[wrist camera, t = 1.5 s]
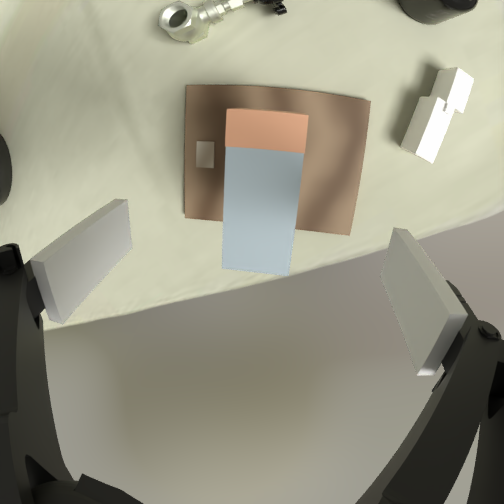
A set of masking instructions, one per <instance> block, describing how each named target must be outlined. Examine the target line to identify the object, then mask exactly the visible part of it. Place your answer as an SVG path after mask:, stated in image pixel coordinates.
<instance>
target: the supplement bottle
mask: <svg viewBox="0 0 504 504" xmlns="http://www.w3.org/2000/svg"><path fill="white" fill-rule="evenodd" d="M398 1H399V4H400V5H401V7H402V8H403V10H404V11H405V12H406V13H407V14H408V15H409V16H410V17H412V18H413V19H415V20H417V21H418V22H421V23H424V24H429V25H434V24H438V23H441V22H444V21H446V20H449V19H451V18H454V17H456V16H459V15H462V14H464V13H467V12H469V11H471V10H473V9H474V8H475V7H476V5H477V3H478V0H398Z"/></svg>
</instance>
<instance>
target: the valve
mask: <svg viewBox="0 0 504 504" xmlns="http://www.w3.org/2000/svg"><path fill="white" fill-rule="evenodd" d="M249 1H251V0H226V1H223V2H221V1H220V0H218V1H215V2H214V1H213V0H206V1H204V2H203V5H202V6H200V7H198V8H195V7H191V6H189V5H187V4H185V3H183V2H181V1H176V2H174V3H172V4H170V5H168V6H166V7H164V8H163V9H161V13H160V17H159V25H158V26H159V27H161V28H163V29H165V30H167V32H168V34H169V35H170V36H171V37H172V38H174V39H176V40H178V41H187V42H189V43H191V44H194V43H196V42H198V41H201V40H203V39H205V38H207V36H208V30H209V24H210V23H211V22H213V23H214V24H216V23H218V22H221V21H223V17H222V16H223V15H225V14H227V10H230V9H232V10H233V11H235V10H238V9H241V8H243V7H245V6H244V4H243V3H246V2H249ZM282 1H283V0H253V2H254V3H255V4H256V3H258V2H259V3H261V4H265V5H266V4H272V3H273V5H274V6H275V7H276V8H273V11H274V13H275V14H277V15H278V16H279V15H282V14H285V13H287V10H286V8H285V6H284V5H283V4H282Z"/></svg>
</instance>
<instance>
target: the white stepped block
mask: <svg viewBox="0 0 504 504" xmlns="http://www.w3.org/2000/svg"><path fill="white" fill-rule="evenodd" d="M473 82H474V79H473V78H472V77H471V76H469V75H468V74H467V73H465V72H464V71H462V70H461V69H460V68H458V67H457V68H450V69H442V70H439V71H438V74H437V77H436V80H435V83H434V85H433V88H432V91H431V94H430V97H420V98H419V101H418V103H417V106H416V108H415V111H414V114H413V116H412V119H411V121H410V124H409V126H408V129H407V131H406V134H405V136H404V138H403V141H402V143H401V146H400V147H401V148H403V149H405V150H407V151H409V152H411V153H412V154H414V155H416V156H418V157H420V158H422V159H424V160H426V161H428V162H430V163H432V164H433V162H434V160H435V157H436V155H437V153H438V150H439V148H440V145H441V143H442V141H443V138H444V136H445V133H446V131H447V128H448V125H449V123H450V120H451V118H452V115H453V112H455V113H462V114H463V111H464V109H465V106H466V103H467V100H468V97H469V94H470V91H471V88H472V85H473Z"/></svg>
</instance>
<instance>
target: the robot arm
mask: <svg viewBox="0 0 504 504" xmlns="http://www.w3.org/2000/svg"><path fill="white" fill-rule="evenodd" d="M11 181H12V168H11V160H10V155H9V152H8V148H7V146H6V143H5V141H4V139H3V137H2V136H1V134H0V205H2V204H3V203H4V202H5V201H6V199H7V197H8V195H9V192H10V188H11ZM131 249H132V240H131V230H130V221H129V210H128V200H127V199H114V200H113V201H111V202H110V203H108V204H106V205H105V206H103V207H102V208H100V209H99V210H97V211H96V212H94V213H93V214H91V215H90V216H88V217H87V218H85V219H84V220H83V221H81V222H80V223H78V224H77V225H75V226H74V227H72V228H71V229H70V230H68V231H67V232H65V233H64V234H63V235H61V236H60V237H59V238H57V239H56V240H55V241H53V242H52V243H50V244H49V245H48V246H46V247H45V248H44V249H43V250H41V251H40V252H39V253H37V254H36V255H35V256H34V257H32V258H31V259H30V260H29V261H28V262H27V263H25V264H23V260H22V256H21V253H20V249H19V245H17V244H14V243H11V244H6V245H3V246H1V247H0V504H143V503H141V502H140V501H138V500H136V499H135V498H133V497H132V496H130V495H128V494H127V493H125V492H124V491H122V490H120V489H118V488H115V487H112V486H110V485H107V484H105V483H102V482H100V481H98V480H95V479H93V478H91V477H89V476H86V475H84V474H82V475H81V477H80V479H79V481H74V480H73V478H72V476H71V475H70V473H69V471H68V469H67V468H66V466H65V464H64V461H63V458H62V455H61V451H60V447H59V443H58V439H57V434H56V429H55V424H54V419H53V414H52V408H51V402H50V395H49V389H48V381H47V373H46V363H45V352H44V336H43V320H42V317H41V314H40V313H41V312H42V311H43V310H44V309H46V312H47V315H48V317H49V320H51V321H54V322H57V323H60V324H64V323H65V321H66V320H67V319H68V318H69V317H70V316H71V314H72V313H73V312H74V311H75V310H76V309H77V307H78V306H79V305H80V304H81V303H82V302H83V301H84V299H85V298H86V297H87V296H88V295H89V294H90V293H91V292H92V291H93V289H94V288H95V287H96V286H97V285H98V284H99V283H100V282H101V281H102V280H103V278H104V277H105V276H106V275H107V274H108V273H109V272H110V271H111V270H112V269H113V268H114V267H115V266H116V265H117V264H118V263H119V261H120V260H121V259H122V258H123V257H124V256H125V255H126V254H127V253H128V252H129V251H130V250H131ZM380 278H381V280H382V282H383V285H384V288H385V290H386V292H387V295H388V297H389V300H390V302H391V305H392V307H393V309H394V312H395V315H396V318H397V320H398V323H399V325H400V328H401V331H402V333H403V336H404V339H405V342H406V344H407V347H408V350H409V353H410V356H411V359H412V362H413V365H414V368H415V371H416V374H417V375H434V374H435V373H436V371H437V370H438V368H439V366H440V365H441V363H442V365H443V367H444V370H445V372H444V373H443V375H442V376H441V378H440V379H439V381H438V382H437V384H436V385H435V387H434V388H433V390H432V392H433V393H432V395H431V397H430V398H429V400H428V402H427V404H426V406H425V408H424V409H423V411H422V412H421V414H420V416H419V417H418V419H417V421H416V422H415V424H414V426H413V427H412V429H411V430H410V432H409V433H408V435H407V437H406V438H405V440H404V441H403V443H402V444H401V446H400V447H399V449H398V450H397V451H396V453H395V454H394V456H393V457H392V459H391V460H390V461H389V463H388V464H387V465H386V467H385V468H384V469H383V471H382V472H381V473H380V474H379V476H378V477H377V478H376V480H375V481H374V482H373V483H372V485H371V486H370V487H369V488H368V490H367V491H366V492H365V493H364V494H363V495H362V497H361V498H360V499H359V500H358V501H357V502H356V503H355V504H444V502H445V500H446V499H447V497H448V495H449V493H450V491H451V489H452V487H453V485H454V483H455V481H456V479H457V477H458V475H459V473H460V471H461V469H462V467H463V464H464V462H465V460H466V457H467V455H468V453H469V450H470V448H471V445H472V443H473V441H474V437H475V435H476V433H477V429H478V427H479V424H480V431H479V440H478V448H477V455H476V461H475V467H474V473H473V478H472V483H471V488H470V493H469V497H468V501H467V504H504V340H502V339H501V335H500V333H499V331H498V330H497V329H496V328H495V327H494V326H493V325H491V324H490V323H488V322H485V321H481V320H478V319H477V318H476V316H475V315H474V313H473V311H472V310H471V308H470V307H469V305H468V304H467V303H466V301H465V299H464V298H463V297H462V295H461V294H460V292H459V291H458V289H457V288H456V287H455V286H454V285H453V284H451V283H450V282H449V281H447V280H445V279H444V278H443V276H442V275H441V273H440V272H439V270H438V269H437V268H436V266H435V265H434V264H433V262H432V261H431V260H430V258H429V257H428V255H427V254H426V253H425V251H424V250H423V249H422V247H421V246H420V245H419V244H418V242H417V241H416V240H415V238H414V237H413V236H412V235H411V233H410V232H409V231H408V230H407V229H401V228H393V232H392V236H391V240H390V243H389V247H388V251H387V255H386V258H385V262H384V265H383V269H382V272H381V275H380Z"/></svg>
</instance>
